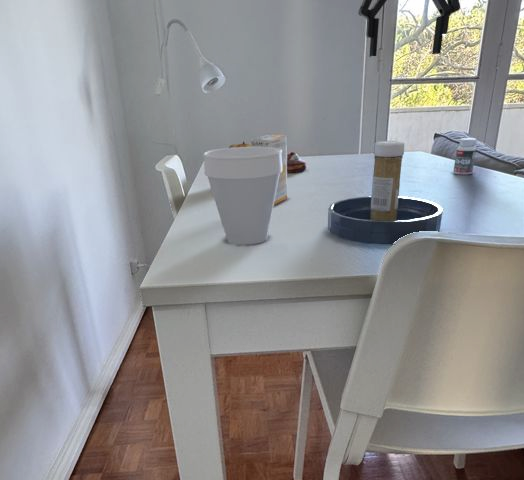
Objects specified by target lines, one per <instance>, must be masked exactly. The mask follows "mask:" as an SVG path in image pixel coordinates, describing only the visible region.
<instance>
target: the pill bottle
mask: <svg viewBox="0 0 524 480" xmlns="http://www.w3.org/2000/svg"><path fill="white" fill-rule="evenodd" d="M477 141H478V139H477V138H476V137H475V138H474V137H463V138H460V139H459V146H458V147H457V148H456V153H455V159H454V166H453V171H452V173H453V174H455V175H463V176H464V175H465V176H466V175H471V174H473V171H474V165H475V160H476V154H477V146H476V145H477V143H478V142H477Z"/></svg>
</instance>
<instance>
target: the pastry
mask: <svg viewBox="0 0 524 480" xmlns="http://www.w3.org/2000/svg"><path fill="white" fill-rule="evenodd" d="M306 169H307V162H306V161H305V160H304V159H301V158H300V156H299V155H298V154H297V153H296V152H295V151H291V152H290V153H287V173H300V172H304V171H306Z"/></svg>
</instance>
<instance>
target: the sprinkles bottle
mask: <svg viewBox="0 0 524 480" xmlns="http://www.w3.org/2000/svg"><path fill="white" fill-rule="evenodd" d="M405 147H406V146H405V142H404V141H401V140H400V141H399V140H381V141H377V142H375V143H374V149H373V155H374V157H373V158H374V163H373V174H372V183H371V184H372V185H371V196H372V197H371V217H370V220H372V221H396V216H397V208H398V199H399V197H400V188H401V187H400V185H401V171H402V162H403V158H404V155H405Z"/></svg>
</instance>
